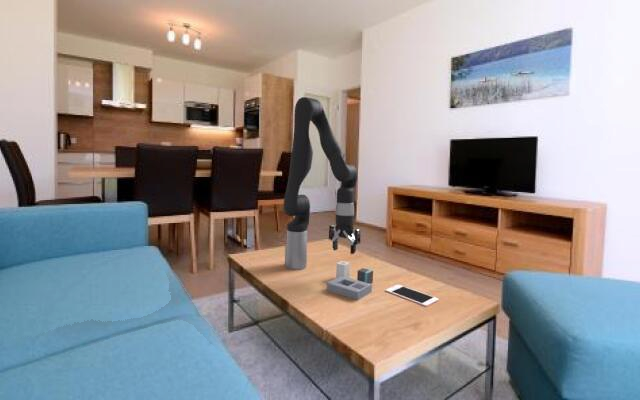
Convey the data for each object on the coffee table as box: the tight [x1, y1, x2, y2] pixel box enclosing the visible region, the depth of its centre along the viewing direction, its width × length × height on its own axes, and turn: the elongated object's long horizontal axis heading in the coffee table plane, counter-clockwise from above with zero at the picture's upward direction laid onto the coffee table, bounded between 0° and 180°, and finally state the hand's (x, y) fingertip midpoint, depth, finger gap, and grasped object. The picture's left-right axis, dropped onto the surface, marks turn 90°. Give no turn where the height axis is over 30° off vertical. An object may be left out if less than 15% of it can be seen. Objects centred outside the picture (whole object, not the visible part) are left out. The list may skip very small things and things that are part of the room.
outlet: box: [326, 276, 373, 301], centre depth 132 cm, size 14×10×3 cm
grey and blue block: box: [356, 267, 374, 284], centre depth 141 cm, size 5×4×5 cm
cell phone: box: [384, 284, 439, 308], centre depth 129 cm, size 9×18×1 cm, turn 42°
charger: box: [335, 260, 351, 279], centre depth 144 cm, size 4×4×7 cm
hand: (343, 251), depth 143 cm, fingers open, 8 cm apart
